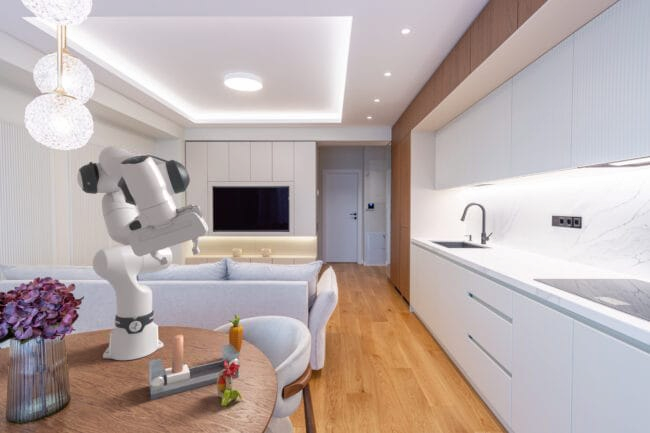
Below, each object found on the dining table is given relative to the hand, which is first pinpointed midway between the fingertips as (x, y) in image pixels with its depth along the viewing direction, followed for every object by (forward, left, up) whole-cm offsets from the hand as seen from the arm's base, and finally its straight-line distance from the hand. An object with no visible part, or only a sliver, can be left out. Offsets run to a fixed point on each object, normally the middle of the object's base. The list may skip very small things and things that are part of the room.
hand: (180, 258), depth 90 cm
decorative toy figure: (+12, +10, -38) cm, 41 cm away
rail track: (-3, +5, -38) cm, 38 cm away
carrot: (-12, +20, -38) cm, 45 cm away
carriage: (-3, 0, -36) cm, 36 cm away
